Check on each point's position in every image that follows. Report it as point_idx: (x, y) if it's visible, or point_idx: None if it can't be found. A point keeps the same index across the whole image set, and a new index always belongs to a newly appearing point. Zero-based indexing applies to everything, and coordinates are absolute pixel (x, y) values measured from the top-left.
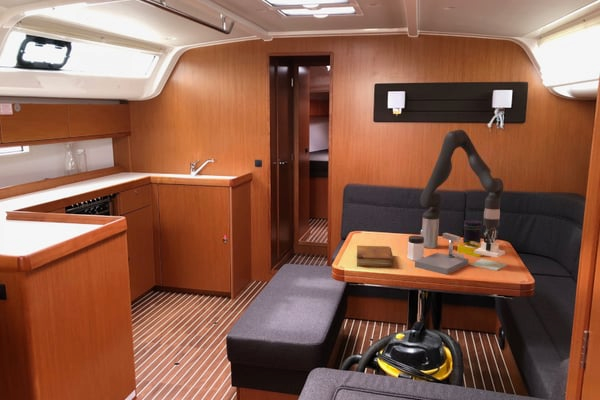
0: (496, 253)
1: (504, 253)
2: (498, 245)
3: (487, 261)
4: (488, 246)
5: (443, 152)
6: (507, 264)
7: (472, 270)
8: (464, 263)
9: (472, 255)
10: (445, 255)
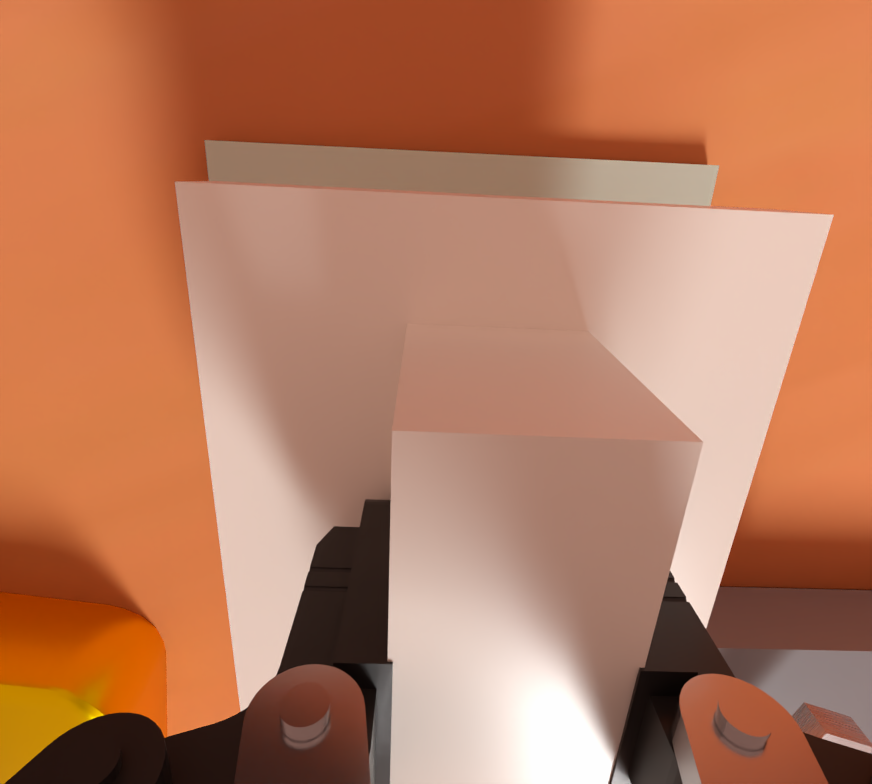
0: (698, 282)
1: (247, 183)
2: (444, 402)
3: None
4: (691, 628)
5: None
6: (213, 141)
7: (854, 454)
8: (745, 618)
9: (165, 687)
10: None
